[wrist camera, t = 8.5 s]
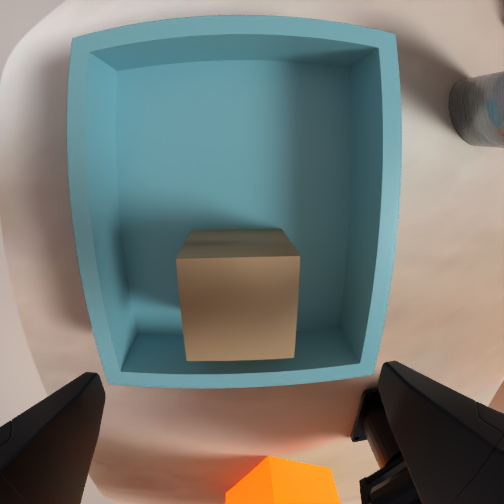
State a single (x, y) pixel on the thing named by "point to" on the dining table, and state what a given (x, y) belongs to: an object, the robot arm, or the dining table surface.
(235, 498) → the orange juice
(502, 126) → the steel cylinder
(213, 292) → the walnut cube
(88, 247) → the tote
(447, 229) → the dining table surface
